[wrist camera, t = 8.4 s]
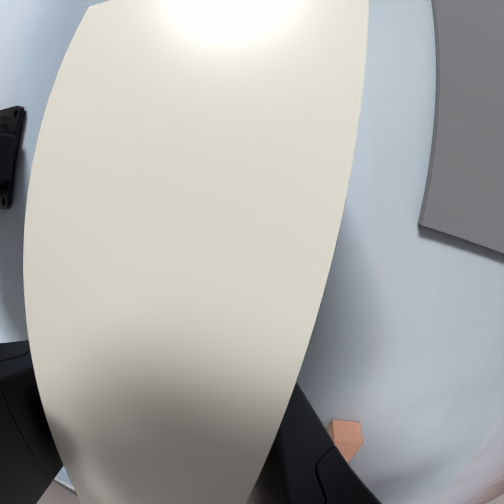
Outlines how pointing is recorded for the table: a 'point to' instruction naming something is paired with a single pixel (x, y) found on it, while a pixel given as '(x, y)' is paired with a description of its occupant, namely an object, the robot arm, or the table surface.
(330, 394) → the table surface
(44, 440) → the robot arm
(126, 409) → the bar
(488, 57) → the rest mat
